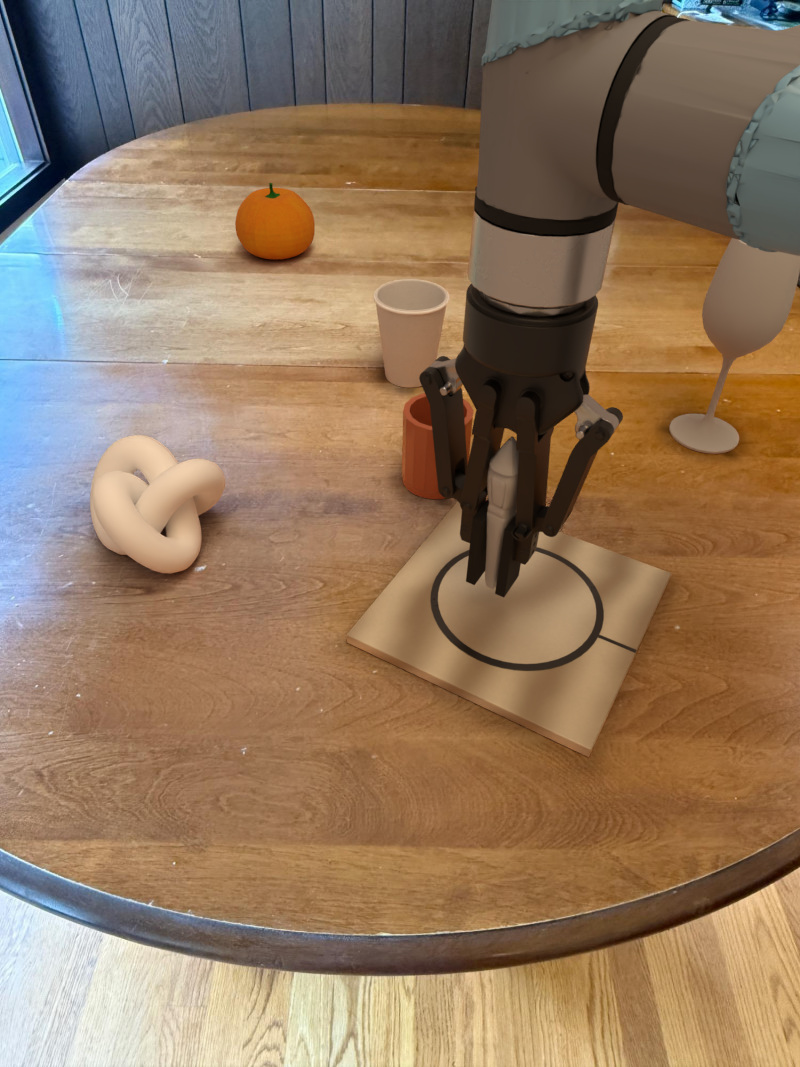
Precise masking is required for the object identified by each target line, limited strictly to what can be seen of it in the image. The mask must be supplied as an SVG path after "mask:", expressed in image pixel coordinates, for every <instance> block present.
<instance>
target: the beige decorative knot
mask: <svg viewBox="0 0 800 1067" xmlns="http://www.w3.org/2000/svg"><path fill="white" fill-rule="evenodd" d="M137 471H140V472H141V473H142V474H143V476H144V478H145V479H146V480H147V482H146V481H145V480H142V479H141V478H140V477H138V476H137V475H134V474H135V473H136V472H137ZM226 483H227V482H226V477H225V473H224V471H223V470H222V469H221V468H220V466H219V465H218V464H217V463H216V462H214V461H212V460H208V459H206V458H191V459H188V460H184V461H181V462H178V460H177V458H176V457H175V456H174V454H173V453H172V452H171V451H170V449H169V448H168V447H166V446H165V445H164V444H163V443H161V442H160V441H159V440H158V439H155V438H153V437H151V436H147V435H145V434H133V435H128V436H124V437H121V438H120V439H118V440H116V441H114V442H112V443H111V444H110V446H108V447H107V448H106V449H105V450H104V452H103V454H102V455H101V456H100V458H99V460H98V463H97V465H96V467H95V469H94V473H93V476H92V480H91V484H90V485H91V486H90V492H89V493H90V494H89V509H90V517H91V521H92V525H93V528H94V532H95V533H96V536H97V538H98V539H99V541H100V542H101V544H102V545H103V546H104V547H105V548H106V549H107V550H110V551H112V552H114V553H115V554H118V555H121V556H127V557H129V558H131V559H132V560H134V561H135V562H136V563H137V564H140V565H141V566H143V567H144V568H145V567H146V568H147V569H149V570H151V571H154V572H157V573H161V574H174V573H178V572H179V573H180V572H183V571H185V570H187V569H188V568H189V567H191V566H192V565H193V563H194V562H195V561H196V559H197V558H198V556H199V554H200V551H201V547H202V540H203V539H202V537H203V536H202V535H203V534H202V527H201V522H200V518H199V516H200V515H203V514H204V513H206V512H207V511H209V510H211V509H212V508H213V507H214V506H215V505H216V504H217V503H218V502H219V501H220V499H221V498H222V495H223V493H224V491H225V489H226ZM164 529H165V535H163V534H161V533H162V532H163V530H164Z"/></svg>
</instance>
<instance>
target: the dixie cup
mask: <svg viewBox="0 0 800 1067" xmlns="http://www.w3.org/2000/svg"><path fill="white" fill-rule="evenodd" d="M372 298H373V301H374V303H375V306H376V314H377V321H378V322H377V323H378V329H379V330H378V331H379V336H380V344H381V345H380V346H381V354H382V360H383V367H384V375H385V378H386V380H387V382H389V383H391V384H393V385H395V386H397V387H402V388H418V387H422V385H421V383H420V379H419V377H420V374H421V373H422V372H423V371H424V370H425V369H426V368H428V367H429V366H430V365H431V364H432V363H433V362H434V361H435V360H436V359H438V353H439V352H438V351H439V347H440V342H441V337H442V331H443V326H444V321H445V314H446V310H447V305H448V304H449V303H450V298H451V297H450V293H449V292H448V290H446V289H445V287H443V286H442V285H440V284H438V283H435V282H433V281H429V280H426V279H420V278H400V279H395V280H390V281H387V282H385V283H382V284H381V285H379V286H378V287H377V288H376V289H375V290H374V292H373V295H372Z"/></svg>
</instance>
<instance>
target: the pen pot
mask: <svg viewBox="0 0 800 1067" xmlns="http://www.w3.org/2000/svg"><path fill="white" fill-rule="evenodd" d="M463 406H464V420H465V435H466V449H467V464H468V462H469V457H470V452H471V443H472V442H471V440H472V429H473V422H474V408H473V407H472V405H471V403H470V402H469V401H467V400H466V399H465V398H463ZM401 437H402V440H401V442H402V443H401V444H402V445H401V449H402V450H401V480H402V484H403V486H404V487H405V489H407V491H409V492H410V493H411V494H413V495H415V496H417V497H420V498H423V499H426V500H427V499H428V500H445V499H446V498H445V497H443V496H442V495H441V494H440V493H439V491H438V483H437V473H436V462H435V452H434V442H433V432H432V422H431V412H430V404H429V401H428V399H427V397H426V394H425V392H423V393H419V394H417V395H414V396H412V397H411V398H409V400H407V401H406V402H405V403H404V405H403V410H402V436H401Z"/></svg>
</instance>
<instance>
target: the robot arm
mask: <svg viewBox="0 0 800 1067" xmlns="http://www.w3.org/2000/svg"><path fill="white" fill-rule="evenodd" d="M664 1H665V0H491V6H490V11H489V12H490V13H489V21H488V26H487V27H488V28H487V35H486V42H485V49H484V53H483V55H482V56H481V64H480V66H481V67H482V78H481V100H480V120H479V121H480V122H479V124H480V126H479V143H478V144H479V146H478V149H479V150H478V166H477V167H478V168H477V183H476V184H477V185H476V186H475V187H474V188H475V189H474V191H475V192H474V193H475V194H474V202H473V214H472V223H471V231H470V233H471V234H470V242H469V243H470V244H469V253H468V264H467V273H466V274H467V278H468V280H469V282H470V284H469V285H468V286H467V289H466V294H465V304H464V305H465V306H464V318H463V331H462V342H463V346H462V349H461V350H460V352H458V354H457V356H456V358H452V359H450V358H449V357H448V356H445V355H441V356H439V357H437V358H436V360H435V361H434V362H433V363H432V364H431V365H430V366H429V367H428V368H426V369H425V370H424V371H423V372H422V373H421V374H420V377H419V379H420V383H421V385H422V386H421V387H422V390H423V393H425V394H426V397H427V399H428V401H429V404H430V412H431V422H432V432H433V442H434V452H435V462H436V473H437V483H438V491H439V493H440V494H441V495H442V496H443V497H445V499H451V498H453V499H454V500H455V501H456V502H457V501H458V502H459V503H460V507H461V509H462V516H461V526H460V537H461V540H463V541H465V542H468V543H470V548H469V557H468V566H467V575H466V582H468V583H470V584H473V585H475V584H476V583H477V581H478V580H479V579H480V577H481V576H482V574H483V573H484V572H485V567H486V542H487V511H488V505H489V500H488V491H487V476H488V469H489V466H490V465H489V463H490V459H491V458H492V457H493V456H494V455H495V454H496V453H497V451H498V450H499V449H500V448H501V446H502V441H503V439H504V438H503V437H504V434H505V429H506V430H508V431H509V430H510V431H511V432H513V433H514V434H516V439H515V440H516V450H517V451H519V463H518V485H517V506H516V515H515V517H513V519H512V520H511V522H510V523H509V524H508V526H507V527H506V528H505V530H504V536H503V543H502V550H501V556H500V563H499V570H498V577H497V584H496V591H495V594H497V595H499V596H501V597H505V596H506V594H507V593H508V591H509V590H510V588H511V587H512V585H513V584H514V582H515V581H516V579H517V578H518V576H519V571H520V566H521V564H524V565H525V564H526V563H527V562H528V561H529V560H530V558H531V557H532V555H533V554H534V552H535V551H536V548H537V542H538V537H539V532H543V533H544V534H545V535H546V536H549V537H554V536H556V535H557V534H558V532H561V530H562V527H563V526H564V525H565V523H566V522H567V520H568V518H569V517H570V516H571V514H572V511H573V509H574V506H575V505H576V502H577V500H578V498H579V495H580V493H581V491H582V489H583V486H584V484H585V482H586V480H587V477H588V475H589V472H590V470H591V468H592V465H593V464H594V461H595V459H596V456H597V454H598V452H599V450H601V449H602V448H603V447H604V446H605V445H606V444H607V443H608V442H609V441H610V439H611V438H612V436H613V435H614V433H615V432H616V430H617V429H618V428H619V426H620V424H621V423H622V421H623V420H624V414H623V412H622V411H621V409H619V408H618V407H615V406H612V407H608V408H606V409H605V407H603V406H602V405H601V404H600V403H599V402H598V401H597V400H595V398H593V397H592V396H591V395H589V394H590V391H591V390H590V389H591V388H590V387H591V386H590V382H589V379H588V376H587V362H588V358H589V353H590V349H591V343H592V337H593V333H594V328H595V323H596V318H597V314H598V309H599V299H598V297H597V294H598V293H599V292H600V291H601V290H602V287H603V282H604V277H605V273H606V267H607V263H608V258H609V253H610V249H611V244H612V239H613V233H614V230H615V229H614V228H615V225H616V219H617V214H618V208H619V204H622V205H625V206H631V207H633V208H637V209H640V210H643V211H646V212H650V213H653V214H656V215H659V216H661V217H666V218H668V219H672V220H675V221H678V222H681V223H685V224H687V225H690V226H694V227H697V228H699V229H704V230H706V231H710V232H711V233H712V232H713V233H716V234H719V235H721V236H725V237H728V238H730V239H732V238H734V239H738V240H741V241H743V242H745V243H746V244H747V245H748V246H750V247H753V248H758V249H759V250H762V251H765V252H783V253H787V254H792V255H797V256H800V24H798V25H794V26H791V27H788V28H785V29H779V30H778V29H777V30H773V29H771V30H770V29H759V28H753V27H752V28H751V27H743V26H736V25H728V24H719V23H711V22H704V21H698V20H697V21H696V20H692V19H691V20H690V19H688V18H683V17H678V16H676V15H675V14H671V13H668V12H662V11H663V3H664ZM462 388H464V389H465V391H466V393H467V395H468V397H469V399H470V401H471V402H472V404H473V406H474V408H475V414H474V415H475V416H474V418H473V423H472V432H471V435H473V437H472V442H471V446H470V453H469V462H468V464H467V449H466V435H465V420H464V406H463V399H464V396H463V395H464V394H463V389H462ZM573 413H574V414H575V415H576V418H577V420H576V423H575V425H574V432H575V435H574V436H575V438H576V439H578V441H577V442H576V444H575V446H574V447H573V448H572V449H571V452H570V454H569V456H568V459H567V461H566V464H565V466H564V469H563V471H562V474H561V476H560V478H559V481H558V484H557V486H556V488H555V491H554V493H553V496H552V499H551V501H550V503H549V505H547V496H548V495H547V494H548V481H549V467H550V456H551V455H550V453H551V441H552V435H553V433H554V430H555V426H557V425H558V424H560V423H561V422H562V421H564V420H565V419H567V418H568V417H569V416H570V415H572V414H573Z"/></svg>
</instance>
